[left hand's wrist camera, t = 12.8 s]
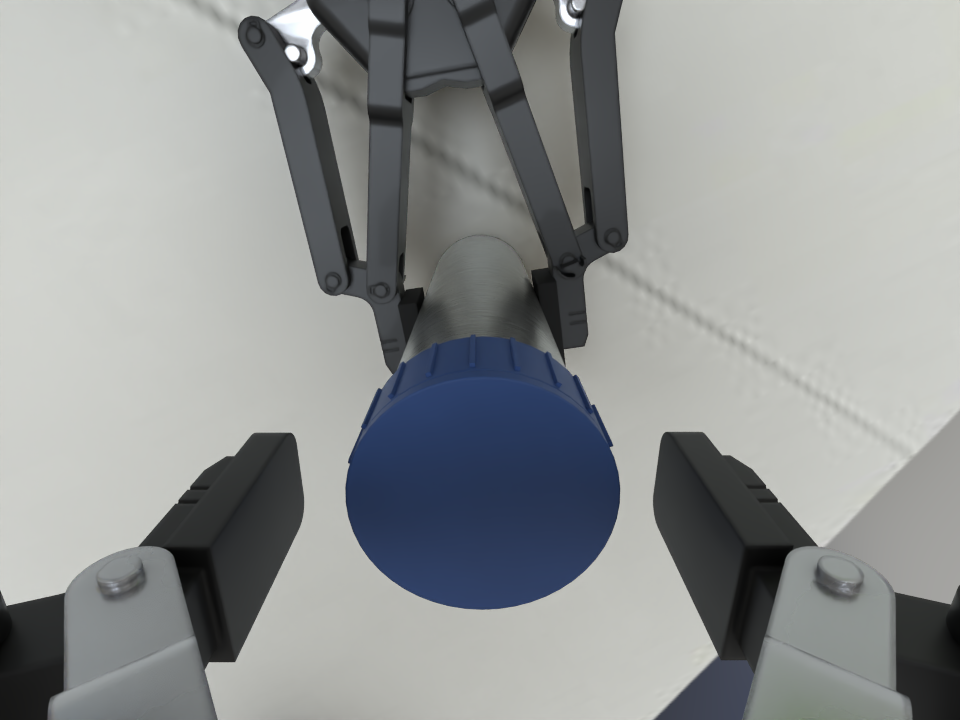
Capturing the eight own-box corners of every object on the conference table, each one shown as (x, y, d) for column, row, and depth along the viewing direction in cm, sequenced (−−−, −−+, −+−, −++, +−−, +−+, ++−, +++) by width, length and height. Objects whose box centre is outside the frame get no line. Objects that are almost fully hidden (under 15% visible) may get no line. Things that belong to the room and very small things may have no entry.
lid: (413, 295, 11) (398, 328, 9) (639, 386, 12) (675, 437, 10) (336, 496, 13) (307, 564, 11) (537, 565, 14) (549, 642, 12)
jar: (455, 219, 28) (410, 338, 10) (541, 256, 29) (649, 432, 10) (421, 305, 29) (329, 544, 11) (503, 338, 30) (541, 614, 12)
